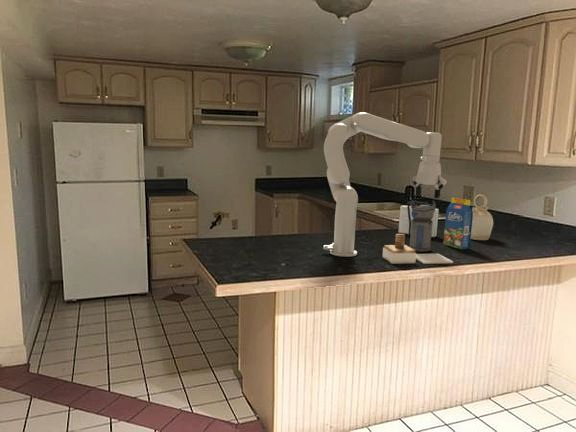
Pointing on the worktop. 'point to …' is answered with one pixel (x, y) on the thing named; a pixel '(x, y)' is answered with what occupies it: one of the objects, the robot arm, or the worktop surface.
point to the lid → (399, 245)
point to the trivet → (432, 258)
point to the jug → (481, 220)
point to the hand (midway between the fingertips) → (427, 196)
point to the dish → (399, 257)
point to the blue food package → (458, 224)
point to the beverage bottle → (420, 225)
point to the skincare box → (405, 220)
